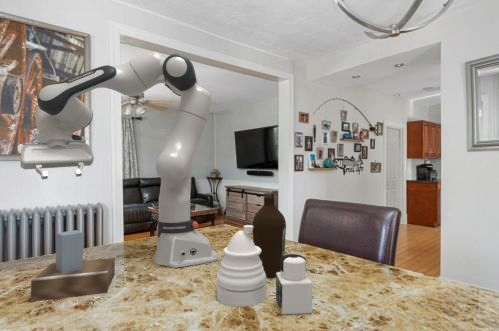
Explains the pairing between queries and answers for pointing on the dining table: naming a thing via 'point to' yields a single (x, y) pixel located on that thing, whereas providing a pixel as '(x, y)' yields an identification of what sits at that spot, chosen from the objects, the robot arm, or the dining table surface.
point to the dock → (73, 280)
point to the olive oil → (270, 235)
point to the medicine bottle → (293, 286)
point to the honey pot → (241, 272)
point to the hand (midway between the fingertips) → (62, 176)
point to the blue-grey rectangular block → (69, 251)
